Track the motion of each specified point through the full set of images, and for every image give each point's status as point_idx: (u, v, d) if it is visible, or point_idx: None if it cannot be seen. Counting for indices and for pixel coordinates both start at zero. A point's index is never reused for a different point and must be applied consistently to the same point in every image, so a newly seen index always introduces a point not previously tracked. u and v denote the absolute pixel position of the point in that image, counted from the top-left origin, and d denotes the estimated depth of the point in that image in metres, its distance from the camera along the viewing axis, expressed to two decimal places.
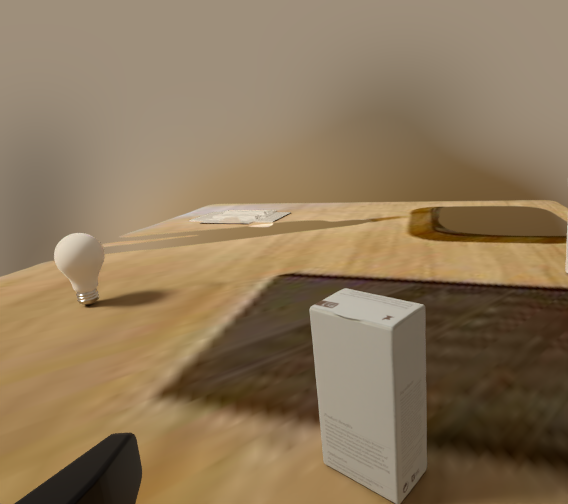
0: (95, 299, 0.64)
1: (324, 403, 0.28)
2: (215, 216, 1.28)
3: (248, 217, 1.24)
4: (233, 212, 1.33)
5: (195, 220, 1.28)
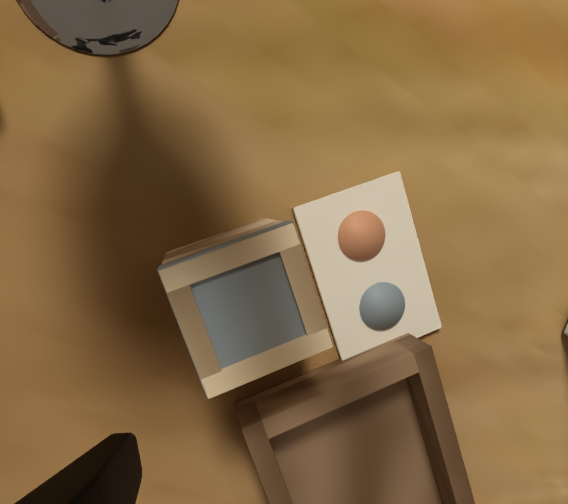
0: None
1: None
2: None
3: None
4: None
5: None
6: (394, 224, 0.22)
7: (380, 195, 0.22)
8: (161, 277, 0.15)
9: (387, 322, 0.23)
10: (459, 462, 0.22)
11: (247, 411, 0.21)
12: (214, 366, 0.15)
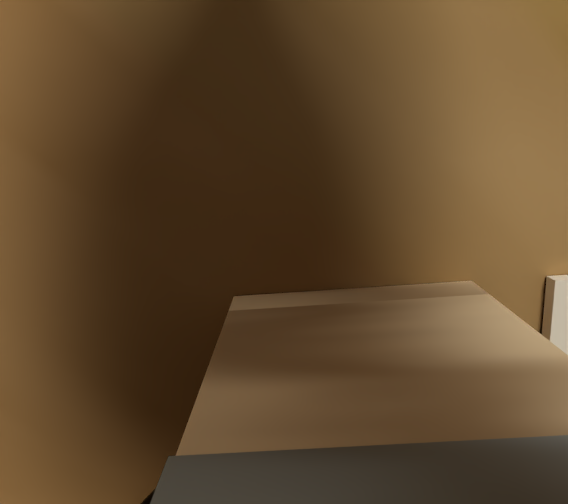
0: None
1: None
2: None
3: None
4: None
5: None
6: None
7: None
8: None
9: None
10: None
11: None
12: None
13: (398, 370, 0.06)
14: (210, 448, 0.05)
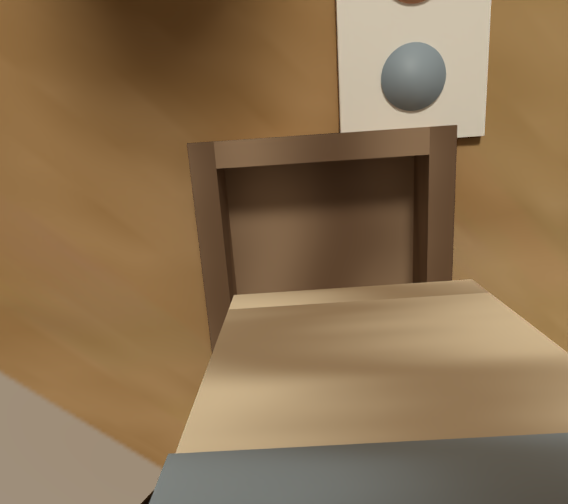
0: None
1: None
2: None
3: None
4: None
5: None
6: None
7: None
8: None
9: (413, 102, 0.18)
10: None
11: None
12: None
13: (398, 368, 0.06)
14: (210, 446, 0.05)
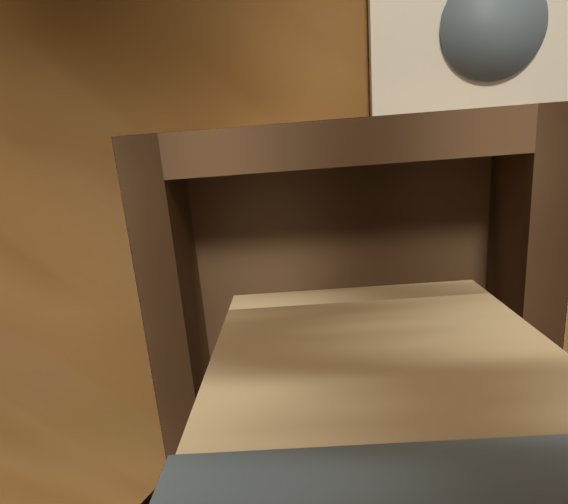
0: None
1: None
2: None
3: None
4: None
5: None
6: None
7: None
8: None
9: (492, 67, 0.11)
10: None
11: None
12: None
13: (398, 369, 0.06)
14: (210, 447, 0.05)
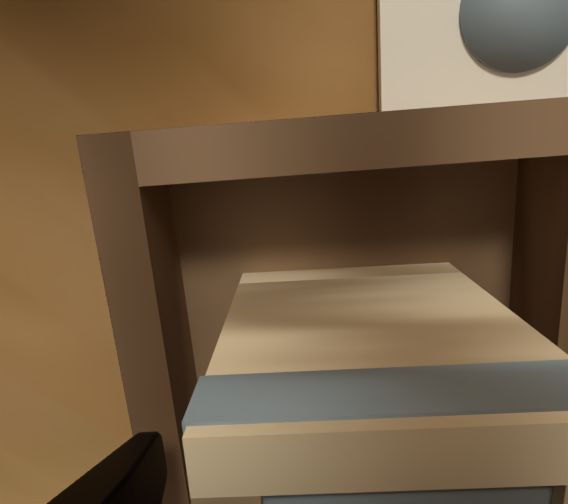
0: None
1: None
2: None
3: None
4: None
5: None
6: None
7: None
8: (187, 454, 0.05)
9: (520, 56, 0.09)
10: None
11: None
12: None
13: (379, 324, 0.07)
14: (231, 372, 0.06)
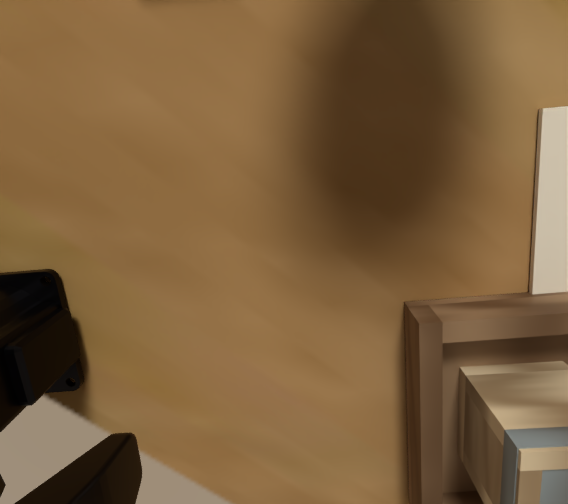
0: None
1: None
2: None
3: None
4: None
5: None
6: None
7: None
8: (521, 457, 0.15)
9: None
10: None
11: (422, 311, 0.20)
12: None
13: (553, 404, 0.18)
14: (513, 427, 0.17)
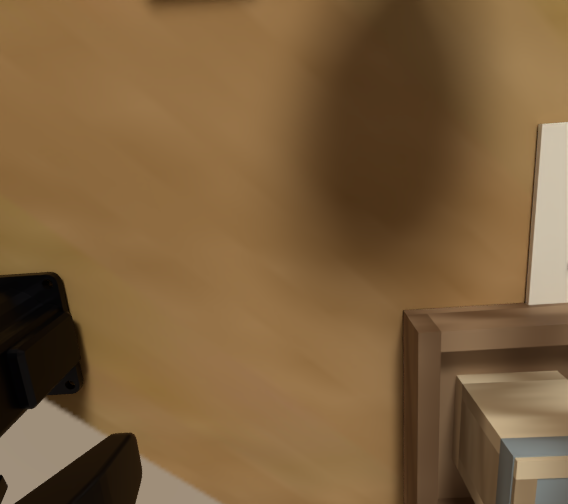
0: None
1: None
2: None
3: None
4: None
5: None
6: None
7: None
8: (516, 466, 0.16)
9: None
10: None
11: (421, 320, 0.20)
12: None
13: (548, 413, 0.18)
14: (509, 436, 0.17)
